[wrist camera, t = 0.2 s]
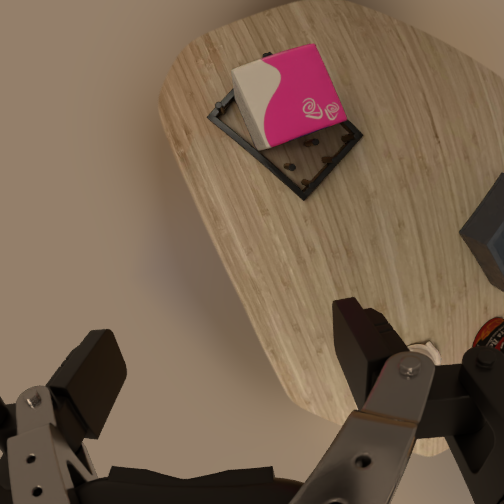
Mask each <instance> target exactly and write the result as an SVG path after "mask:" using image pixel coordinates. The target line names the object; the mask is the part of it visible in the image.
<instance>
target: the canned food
mask: <svg viewBox="0 0 504 504" xmlns="http://www.w3.org/2000/svg"><path fill="white" fill-rule="evenodd" d="M477 346H489V347H493V348H496V349H498V350H499V351H501V352H502V353H503V354H504V319H502V318H494V319H491V320H490V321H488V322H487V323H486V324H485V325H484V326H483V327H482V328H481V330H480V331H479V333H478V334H477V336H476V338H475V341H474V343H473V347H477Z"/></svg>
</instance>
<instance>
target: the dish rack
mask: <svg viewBox="0 0 504 504" xmlns="http://www.w3.org/2000/svg"><path fill="white" fill-rule="evenodd" d="M270 55H273V54H272V53H271V52H268V53H264V54H263V57H262V58H264V57H267V56H270ZM234 98H235V95H234V88H233V89H232V90H231V91H230V92H229V93H228V94H227V95H226V96H225V97H224V99H223V100H222V101H221V102H217V103H216V104H215V108H214V110H213V111H212V112H211V113H210V114H209V115H208V116H207V118H208V119H209V120H210V121H211V122H212V123H214V124H215V125H216V126H217V127H219V128H220V129H221V130H222V131H224V132H225V133H226V134H227V135H228V136H230V137H231V138H232V139H233V140H234V141H236V142H237V143H238V144H239V145H240V146H242V147H243V148H244V149H245V150H246V151H248V152H249V153H250V154H251V155H252V156H253V157H255V158H256V159H257V160H258V161H259V162H260V163H262V164H263V165H264V166H265V167H266V168H267V169H268V170H270V171H271V172H272V173H273V174H274V175H275V176H276V177H278V178H279V179H280V180H281V181H282V182H283V183H284V184H285V185H287V186H288V187H289V188H290V189H291V190H292V191H293V192H294V193H295V194H297V195H298V196H299V197H300V198H301V199H302V200H303V201H305V199H306V198H307V197H308V196H309V195H310V194H311V193H312V192H313V191H314V189H315V188H316V187H317V186H318V185H319V184H320V183H321V182H322V181H323V180H324V178H325V177H326V176H327V175H328V174H329V173H330V172H331V171H332V170H333V168H334V167H335V166H336V165H337V164H338V163H339V162H340V161H341V160H342V159H343V157H344V156H345V155H346V154H347V153H348V152H349V151H350V150H351V149H352V147H353V146H354V145H355V144H356V143H357V142H358V141H359V140H360V139H361V138H362V136H363V134H362V133H361V132H360V131H359V130H358V129H357V128H356V127H355V126H354V125H353V124H352V123H351V122H350V121H349V120H348V119H347V120H346V121H344V122H341V123H340V124H341V125H342V126H343V127H344V128H345V129H346V130H347V131H348V132H349V133H350V134H348V135H343V136H342V137H341V140H342V141H347V142H346V143H345V144H344V145H343V146H342V147H341V148H340V149H339V150H338V152H337V153H336V154H335V155H334V156H333V157H323V158H322V162H323V163H327V164H326V165H325V166H324V167H323V168H322V169H321V170H320V171H319V172H318V174H317V175H316V176H315V177H314V178H313V179H312V180H311V181H308V180H306V179H303V180H302V181H301V183H302V185H304V186H306V187H305V188H304V189H303V190H301V189H300V188H299V187H298V186H296V185H295V184H294V183H293V182H292V181H291V180H290V179H289V178H288V177H286V176H285V175H284V174H283V173H282V172H281V171H280V170H279V169H277V168H276V167H275V166H274V165H273V164H272V163H271V162H269V161H268V160H267V159H266V158H265V157H264V156H263V155H261V154H260V153H259V152H258V151H257V150H256V149H254V148H253V147H252V146H251V145H250V144H248V143H247V142H246V141H245V140H244V139H242V138H241V137H240V136H239V135H238V134H236V133H235V132H234V131H233V130H232V129H230V128H229V127H228V126H227V125H226V124H224V123H223V122H222V121H221V120H219V119H218V118H217V117H218V116H219V115H220V114H221V115H223V114H225V108H226V107H227V106H228V105H229V104H230V103H231V102H232V101H233V99H234ZM318 144H319V140H318V139H316V138H315V139H311V140H307V141H305V142H304V145H305V146H306V147H309V146H315V145H318ZM284 168H285V169H287V170H290V171H294V170H295V169H296V166H295V165H294V164H290V163H285V164H284Z"/></svg>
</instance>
